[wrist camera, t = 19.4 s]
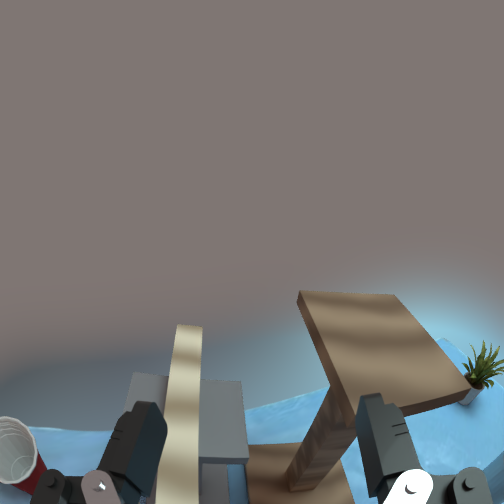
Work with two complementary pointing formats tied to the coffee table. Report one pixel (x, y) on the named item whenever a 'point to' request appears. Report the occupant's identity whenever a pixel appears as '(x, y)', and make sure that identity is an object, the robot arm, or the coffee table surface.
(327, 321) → the walnut stand
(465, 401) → the house plant
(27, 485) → the plastic cup
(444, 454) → the coffee table surface
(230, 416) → the charcoal stand
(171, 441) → the birch block
